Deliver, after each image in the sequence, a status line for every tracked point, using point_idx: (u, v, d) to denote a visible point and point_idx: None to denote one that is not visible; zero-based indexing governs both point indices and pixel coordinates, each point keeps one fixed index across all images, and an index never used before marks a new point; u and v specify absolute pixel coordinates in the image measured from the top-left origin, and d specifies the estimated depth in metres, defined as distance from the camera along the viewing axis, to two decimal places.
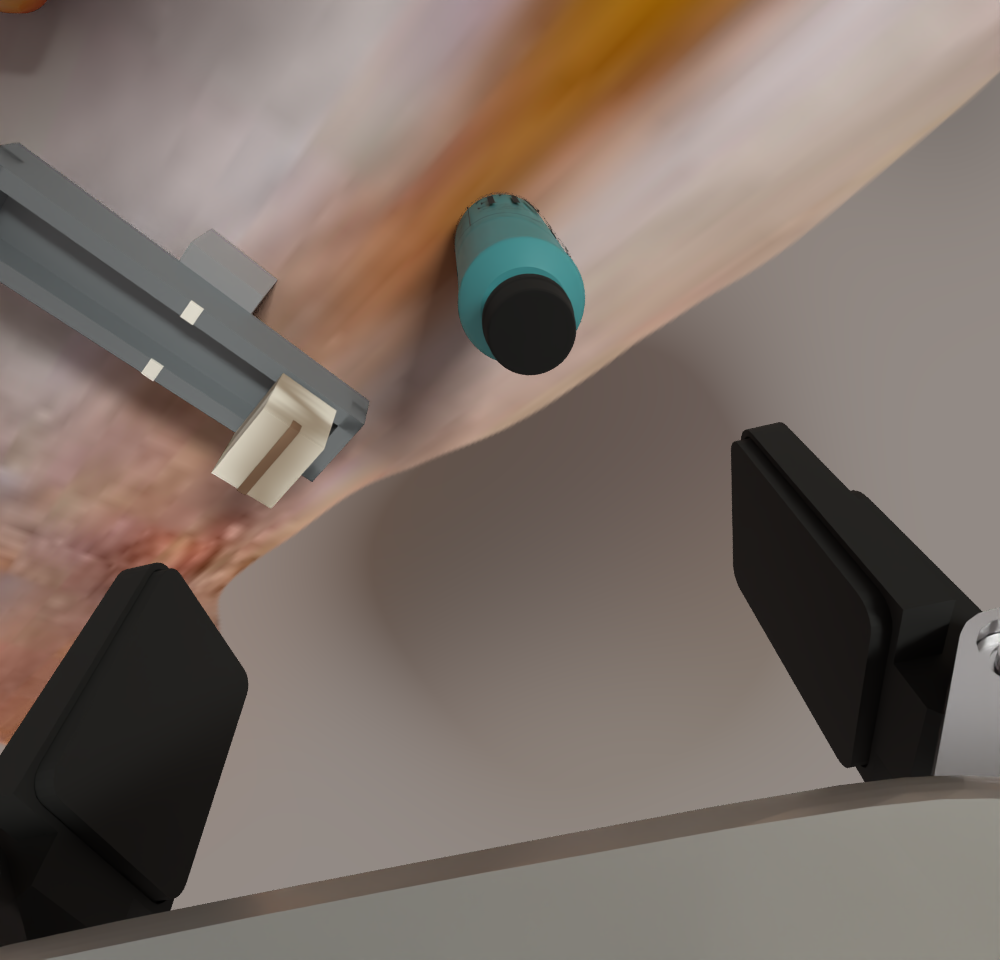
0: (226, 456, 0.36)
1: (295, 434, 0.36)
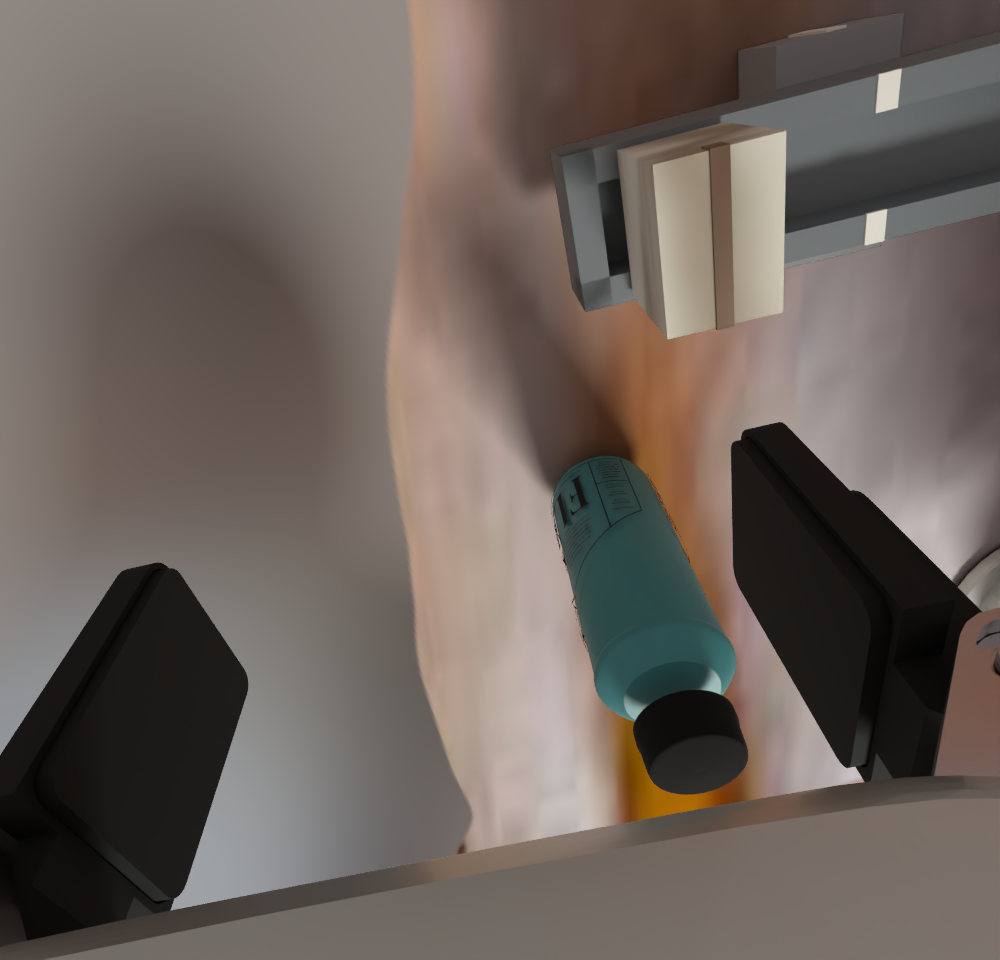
0: (783, 187, 0.19)
1: (719, 321, 0.22)
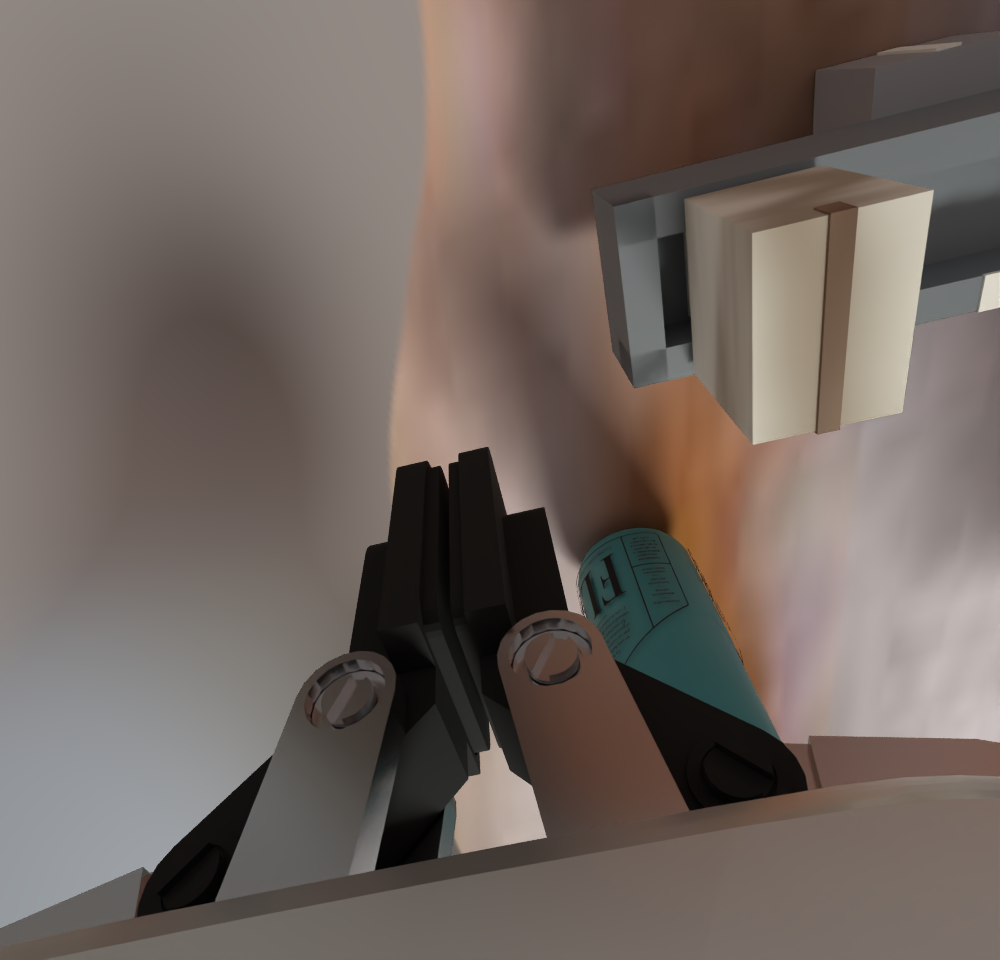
0: (920, 261, 0.15)
1: (820, 424, 0.17)
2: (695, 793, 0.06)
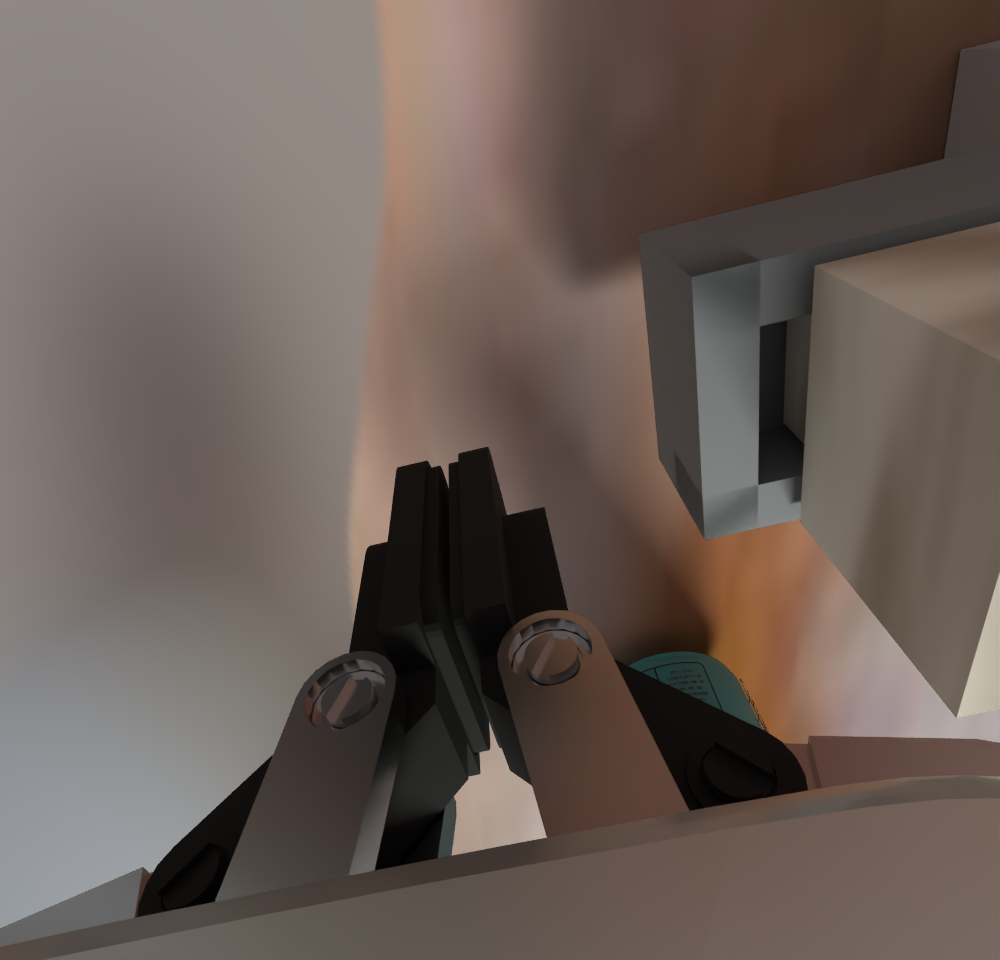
0: None
1: None
2: (695, 793, 0.06)
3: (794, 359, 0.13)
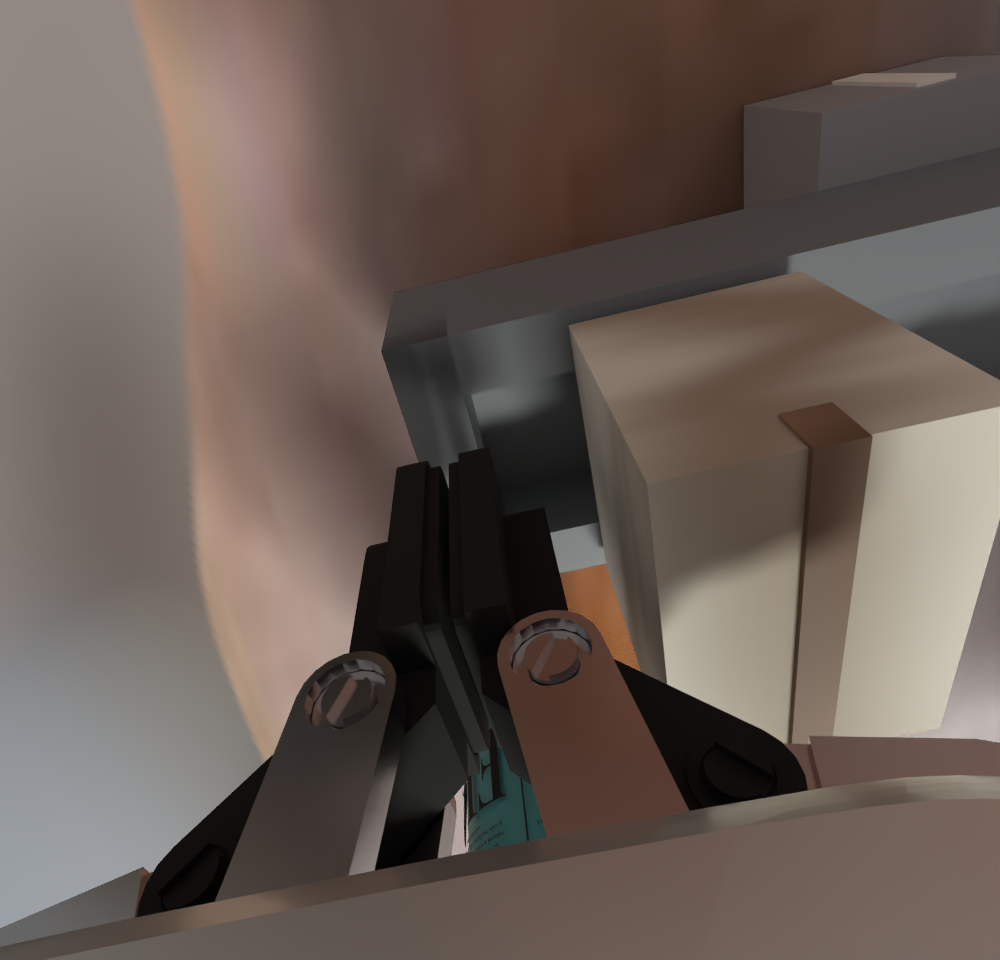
0: (993, 518, 0.07)
1: None
2: (695, 793, 0.06)
3: None
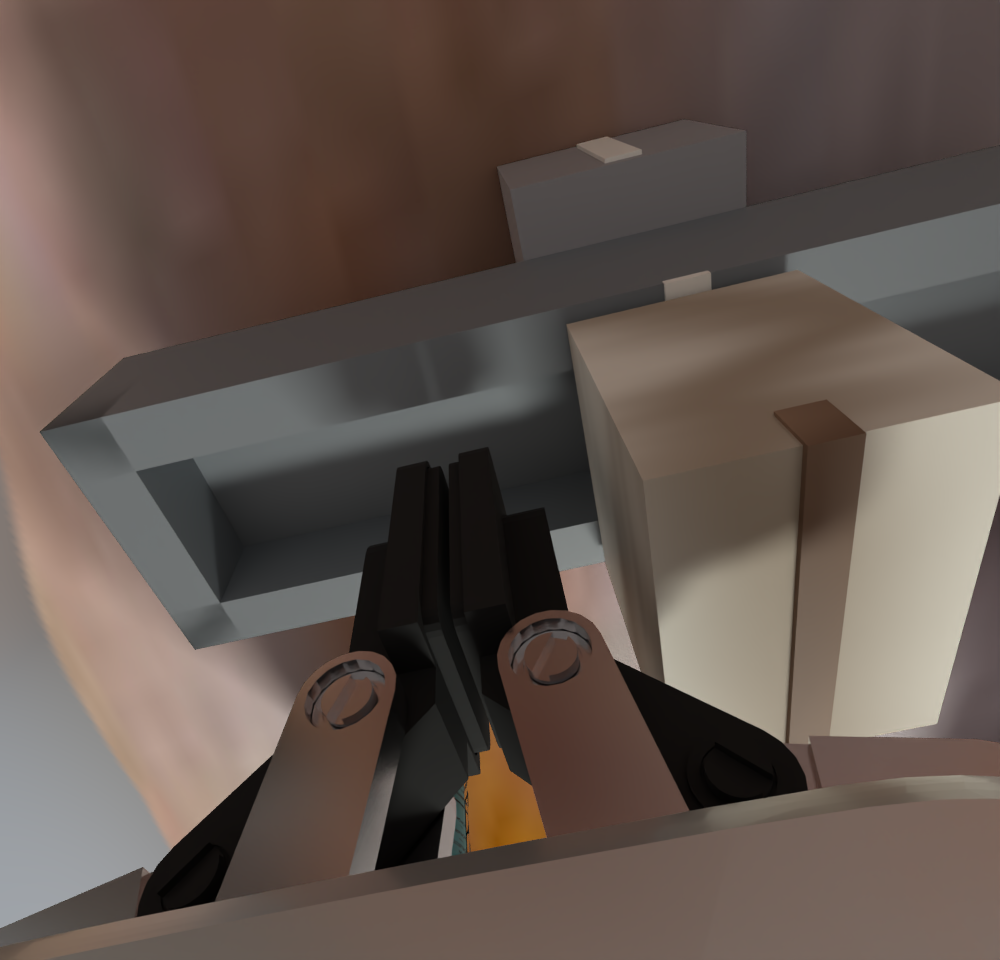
0: (988, 515, 0.07)
1: None
2: (695, 793, 0.06)
3: None
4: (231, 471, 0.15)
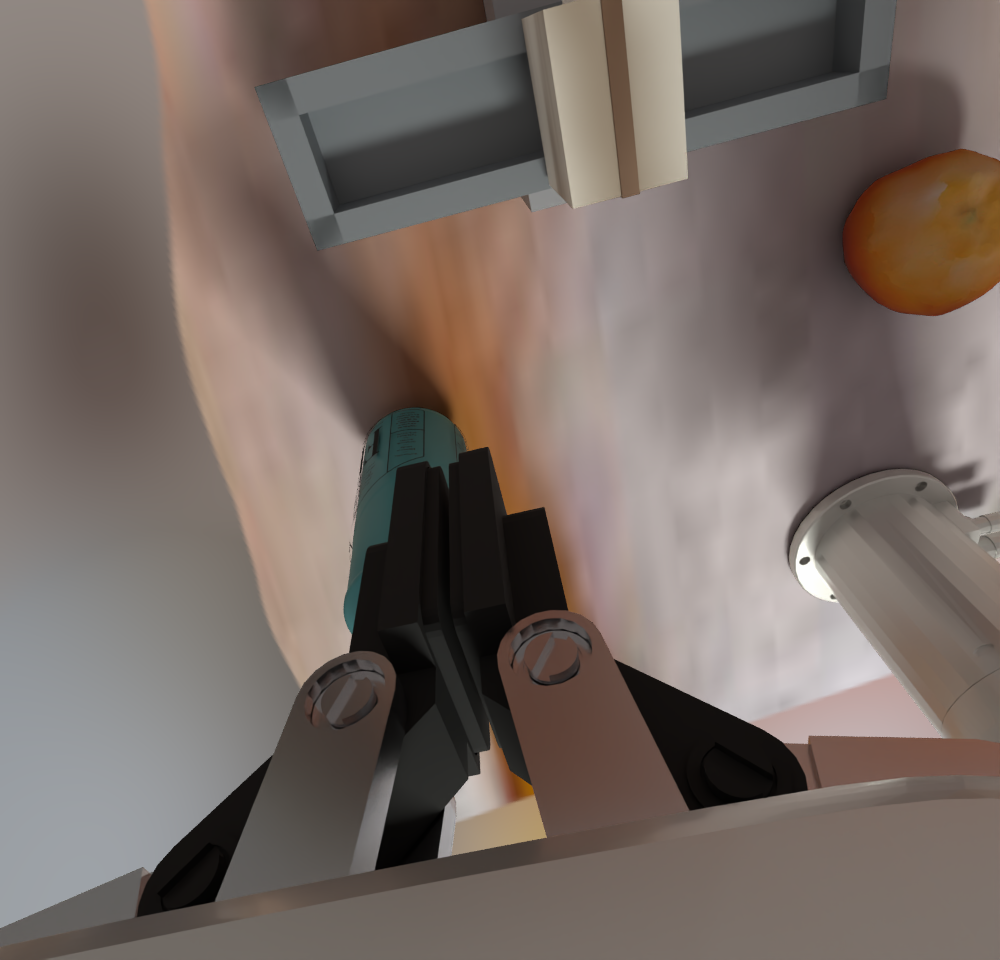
0: (678, 36, 0.19)
1: (623, 188, 0.21)
2: (695, 793, 0.06)
3: None
4: (336, 147, 0.26)
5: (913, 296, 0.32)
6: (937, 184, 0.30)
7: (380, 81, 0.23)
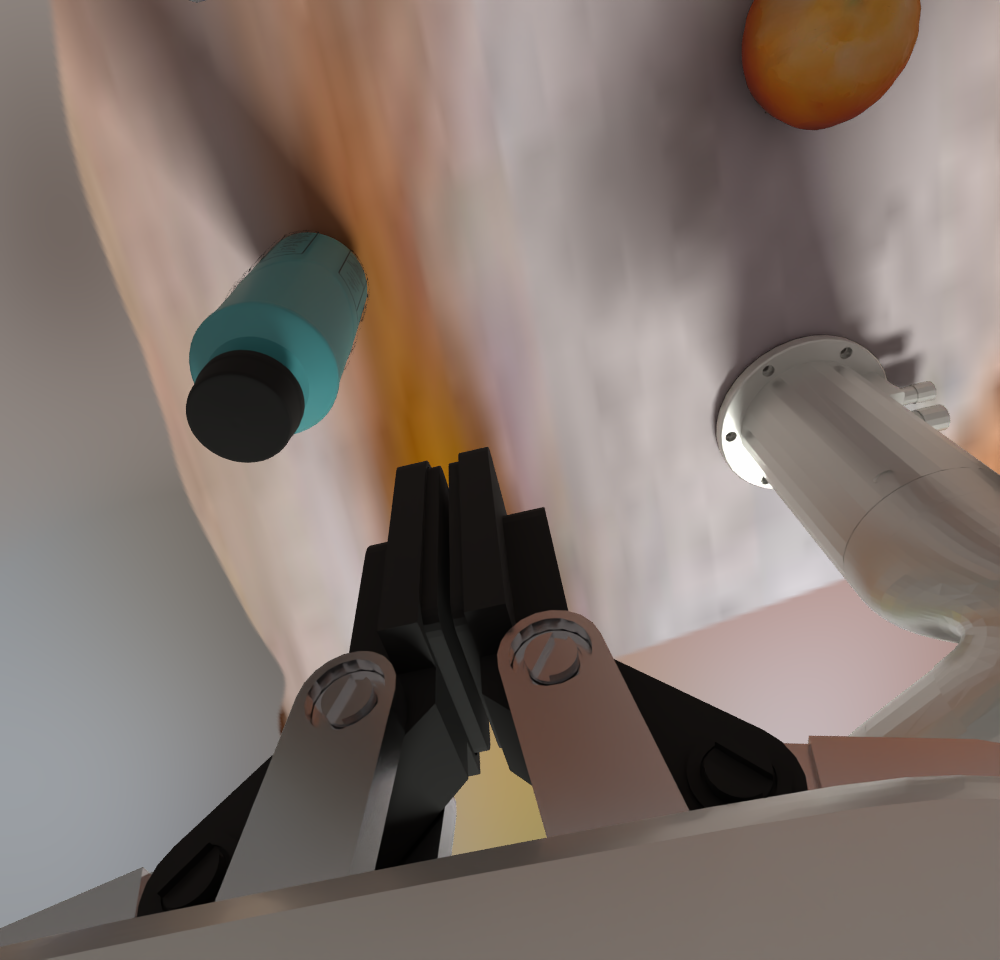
0: None
1: None
2: (694, 793, 0.06)
3: None
4: None
5: (802, 93, 0.31)
6: None
7: None
